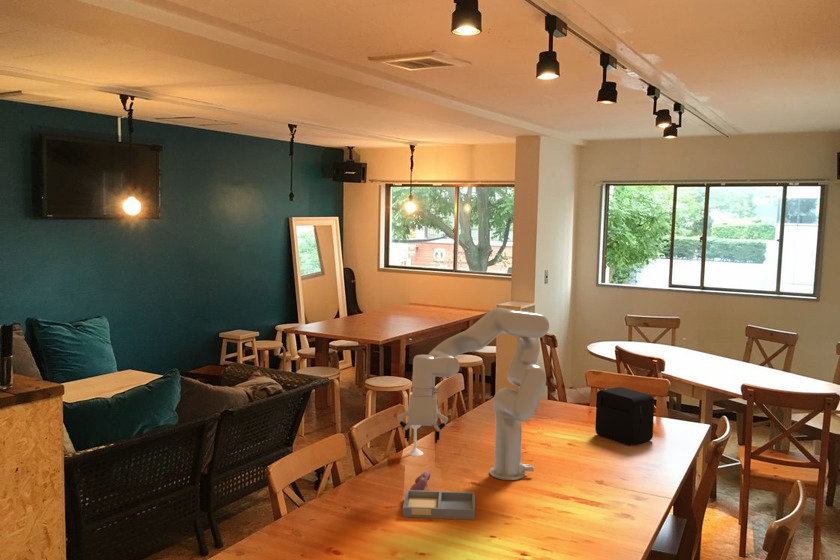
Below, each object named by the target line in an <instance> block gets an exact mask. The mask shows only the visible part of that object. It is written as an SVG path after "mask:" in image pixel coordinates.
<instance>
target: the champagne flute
mask: <svg viewBox="0 0 840 560" xmlns="http://www.w3.org/2000/svg"><path fill="white" fill-rule="evenodd" d="M410 394H412V391H410V392H409V398H410ZM409 398H408V399H409ZM407 422H408V416H406V423H407ZM421 426H422V425H411V426H410V428H412V429H413V447H412V449H410V450H408V451H406V454H407V453H408V454H407V455H409V456H411V457H412V456H413V457H418V456H419V457H420V456H422V455H424V452H423V451H422V450H420V449H418V448H417V445H418V444H417V442H418V441H417V438H418V437H417V436H418V435H417V433H418V429H419V428H421Z"/></svg>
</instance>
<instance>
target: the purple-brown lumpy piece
mask: <svg viewBox="0 0 840 560" xmlns="http://www.w3.org/2000/svg"><path fill="white" fill-rule="evenodd" d="M431 475H432V473H431V472H428V471H426V470H425V471H424V472H422V473H421V474H420V476H418V477H416V479H415V480H414V483H415V484H414V485H412V486H410V487H411V488H410V489H409V490H421V491H424V488H425V487H426V488H427V487H428V485H429V484H428V481H429V480H430V479H431Z"/></svg>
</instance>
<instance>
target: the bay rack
mask: <svg viewBox="0 0 840 560" xmlns="http://www.w3.org/2000/svg"><path fill="white" fill-rule="evenodd" d="M404 495H405V496H404V501H403V505H402V518H422V519H423V518H425V519H426V518H427V519H452V520H473V521H474V520H476V498H475V497H476V495H475V492H472V491H471V492H470V491H469V492H467V491H447V490H445V491H443V490H422V491H421V490H410V489H406V491H405V494H404Z"/></svg>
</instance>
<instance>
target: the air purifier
mask: <svg viewBox="0 0 840 560" xmlns="http://www.w3.org/2000/svg"><path fill="white" fill-rule="evenodd" d="M595 400H596V402H595V406H596V408H595V433H596V435H597V436H598V437H601V438H604V439H607V440H610V441H613V442H616V443H619V444H622V445H624V446H629V447H630V446H634V445H638V444H641V443H645V442H650V441H651V440H652V439H653V437H654V419H655V418H654V414H655V398H654V396H653V395H652V394H650V393H646V392H642V391H638V390H633V389H630V388H626V387H622V386H618V387H611V388H607V389H600V390H597V393H596V399H595Z"/></svg>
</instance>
